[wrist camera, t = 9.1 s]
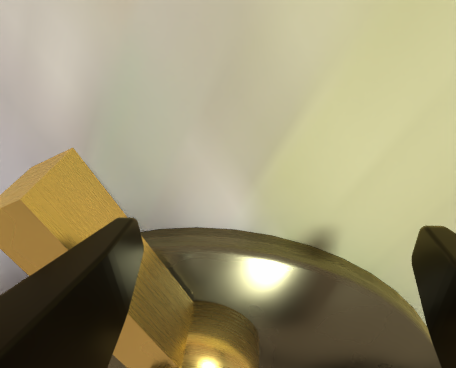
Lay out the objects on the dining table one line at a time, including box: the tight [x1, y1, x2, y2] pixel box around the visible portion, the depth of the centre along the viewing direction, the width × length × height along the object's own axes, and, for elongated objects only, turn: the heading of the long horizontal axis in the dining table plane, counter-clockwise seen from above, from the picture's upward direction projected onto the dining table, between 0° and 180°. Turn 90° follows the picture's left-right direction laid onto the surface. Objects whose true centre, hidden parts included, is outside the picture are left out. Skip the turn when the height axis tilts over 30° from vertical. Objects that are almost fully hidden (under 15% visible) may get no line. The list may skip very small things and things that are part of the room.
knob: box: [0, 148, 259, 368], centre depth 10 cm, size 10×4×3 cm, turn 26°
